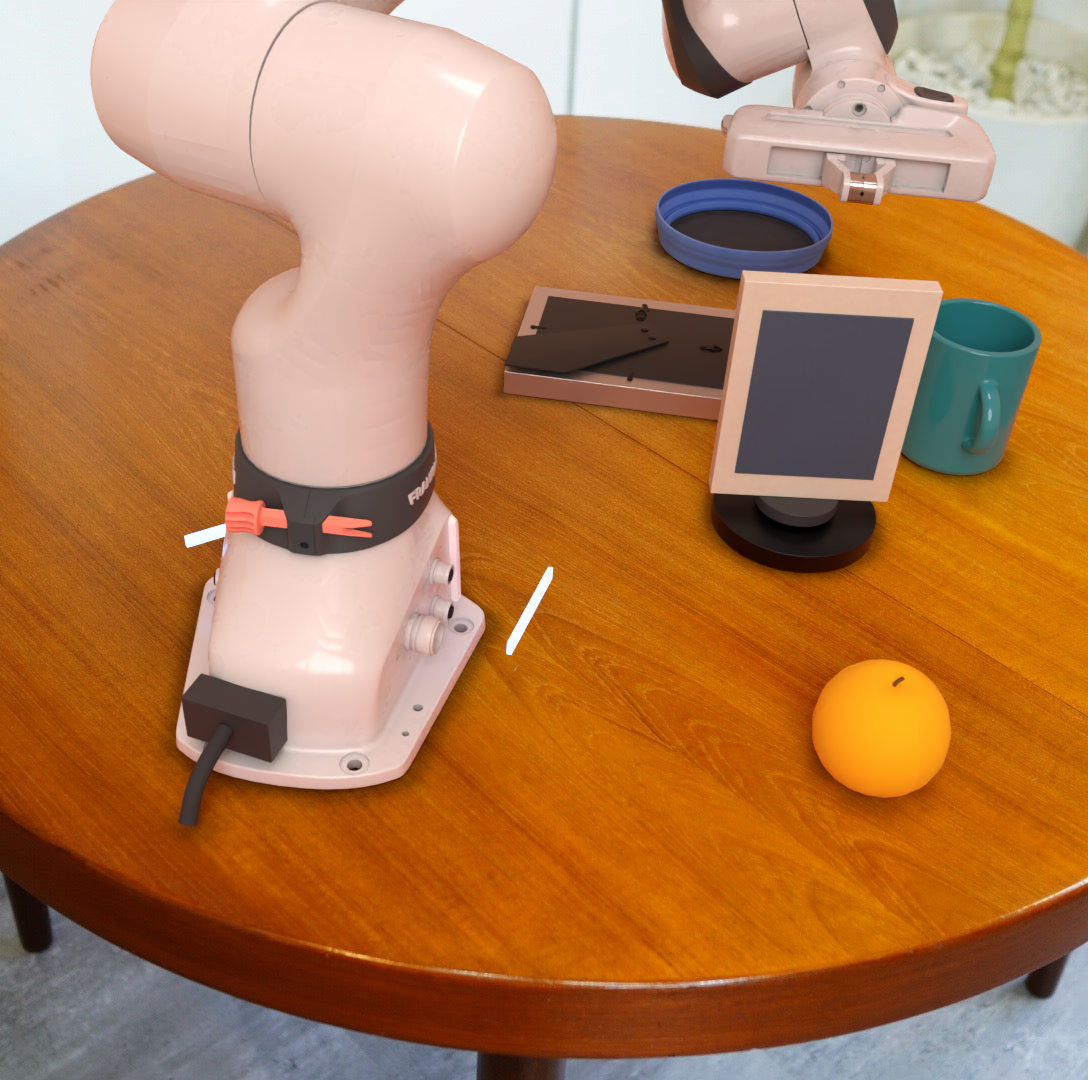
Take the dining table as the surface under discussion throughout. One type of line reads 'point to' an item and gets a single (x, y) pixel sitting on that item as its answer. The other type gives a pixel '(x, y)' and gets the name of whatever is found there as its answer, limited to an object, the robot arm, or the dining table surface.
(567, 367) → the picture frame
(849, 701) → the orange
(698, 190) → the bowl
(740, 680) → the dining table surface
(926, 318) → the photo frame
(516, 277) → the dining table surface
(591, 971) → the dining table surface
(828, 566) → the swivel base
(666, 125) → the dining table surface
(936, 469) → the cup
